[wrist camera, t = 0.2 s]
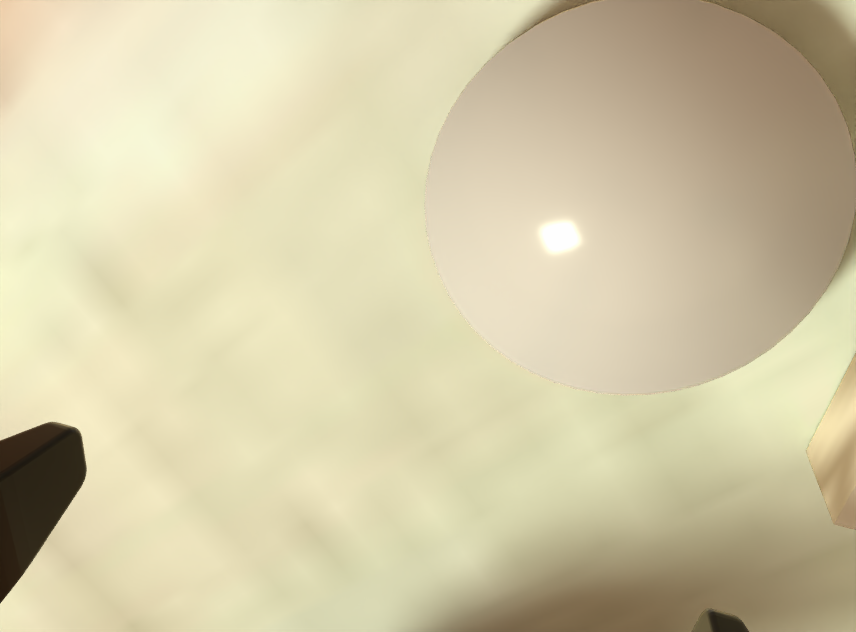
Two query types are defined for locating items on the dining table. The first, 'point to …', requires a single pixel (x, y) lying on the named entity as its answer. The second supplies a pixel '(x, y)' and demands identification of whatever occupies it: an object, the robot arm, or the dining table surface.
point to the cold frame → (838, 452)
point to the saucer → (640, 195)
